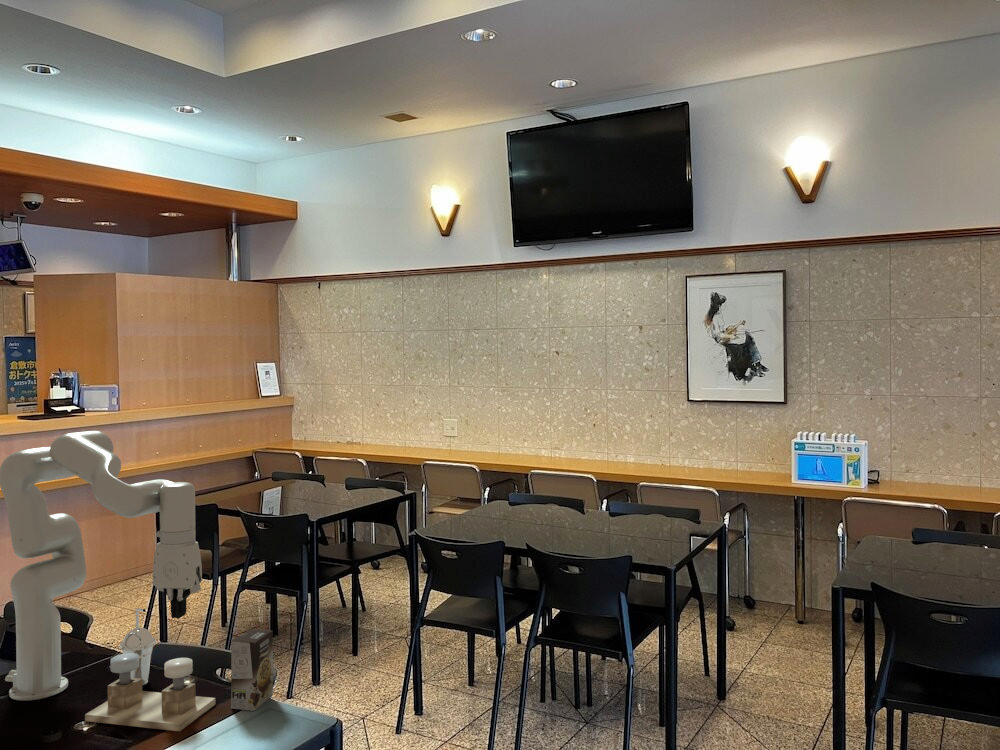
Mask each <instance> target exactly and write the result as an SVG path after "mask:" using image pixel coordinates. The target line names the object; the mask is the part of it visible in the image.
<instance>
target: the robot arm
mask: <svg viewBox="0 0 1000 750" xmlns="http://www.w3.org/2000/svg"><path fill="white" fill-rule="evenodd" d="M121 469H122V461H121V459H120V457H119V456H118V455H117V454H116V453H114V444H113V441H112V439H111V438H110V437H109V435H107V434H106V433H104V432H103V431H102V432H101V431H100V430H88V431H79V432H70V433H65V434H62V435H59V436H58V437H57V438H56V439H54V440H53V441H52V442H51V444H50V446H42V447H41V446H40V447H34V448H27V449H22V450H19V451H15V452H13V453H11V454H9V455H8V456H6V457H5V458H4V460H3V461H2V463H1V464H0V490H1V493H2V496H3V498H4V501H5V502H4V503H5V505H6V511H7V518H8V525H9V531H10V532H9V533H10V538H11V539H10V540H11V544H12V545H11V546H12V550H13V551H14V554H15V555H16V556H17V557H18V558H20V559H25V560H26V559H33V558H38V557H42V556H46V555H49V554H51V556H52V558H50V559H46V560H45V559H44V560H41V561H38V562H34V563H30V564H28V565H26V566H23V567H21V568H20V569H18V570H17V571H16V572H15V573H14V574H13V576H12V578H11V580H10V591H11V596H12V601H13V604H14V605H13V606H14V611H15V613H14V614H15V636H16V637H15V638H16V639H15V640H16V641H15V647H16V648H15V650H16V653H15V654H16V655H15V657H16V658H15V659H16V665H15V666H16V669H11V670H9V672H8V674H7V675H6V676H5V678H4V680H5V682H9V683H10V682H11V683H12V687H11V688H10V689H9V691H8V696H9V697H10V698H11V699H12V700H14V701H15V700H16V701H23V702H24V701H36V700H41V699H42V700H43V699H46V698H49V697H51V696H52V697H53V696H56V695H57V694H59V693H62V692H64V690H66V689H67V688H68V686H69V679H68V678H67V677H65V676H62V639H61V638H62V635H61V634H62V632H61V631H62V629H61V626H62V625H61V614H60V611H59V609H58V607H57V606H56V604H55V603H54V602H53V599H55V598H57V597H60V596H63V595H66V594H68V593H71V592H74V591H76V590H78V589H80V588H81V587H82V586H83V584H84V583H85V581H86V577H87V564H86V557H85V550H84V544H83V543H84V542H83V537H82V536H83V535H82V531H81V527H80V525H79V524H78V523H79V522H77V520H76V519H75V518H74V516H71V515H70V514H68V513H63V512H62V513H61V512H60V513H59V512H58V513H54V514H53V513H52V514H50V513H49V510H48V509H49V508H48V502H47V499H46V497H45V495H44V493H43V492H42V490H41V489H40V488H39V487H38V486H36V484H37V483H43V482H49V481H50V482H51V481H56V480H61V479H68V478H72V477H75V476H76V477H78V478H80V479H82V480H83V481H85V482H87V483H88V484H90V485H91V490H92V492H93V493H92V494H93V495H94V497H95V499H96V501H97V502H98V503H99V504H100V505H101V506H102V507H104V508H106V509H108V511H111V512H112V513H113V514H115V515H118V516H120V517H123V518H127V519H128V518H129V519H132V518H138V517H142V516H145V515H149V514H156V513H158V512H159V530H158V531H156V533H155V536H156V537H158V538H159V542H158V543H156V547H155V551H154V557H153V564H152V565H153V566H152V584H153V586H155V589H156V590H157V591H160V592H164V594H165V595H166V596H167V600H168V601H170V614H171V615H170V616H171V619H180V618H183V617H184V616H186V614H187V607H188V606H187V599H188V598H189V597H190V596H191V594H194V593H198V592H200V591H201V590H202V587H201V583H202V579H203V572H202V571H203V567H202V556H201V551H200V546H199V542H198V541H196V488H195V486H194V484H193V483H190V482H187V481H186V482H183V481H179V482H178V481H177V482H174V481H170V480H168V479H161V478H160V479H159V478H158V479H152V480H146V481H141V482H140V481H139V482H136V483H131V484H129V483H126V482H124V481H122V480H121V479H119V478H118V476H119V474H120V472H121Z"/></svg>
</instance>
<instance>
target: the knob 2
mask: <svg viewBox="0 0 1000 750" xmlns="http://www.w3.org/2000/svg"><path fill="white" fill-rule="evenodd" d="M193 667H194V665H193V659H192V658H189V657H176V658H173V659H168V660H167V661H165V663H164V674H163V675H164V677H165V678H167V679H172V684H173V690H179V691H181V690H182V689H184V683H185V677H188V676H189V675H191V674H192V673H193V671H194V670H193Z"/></svg>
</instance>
